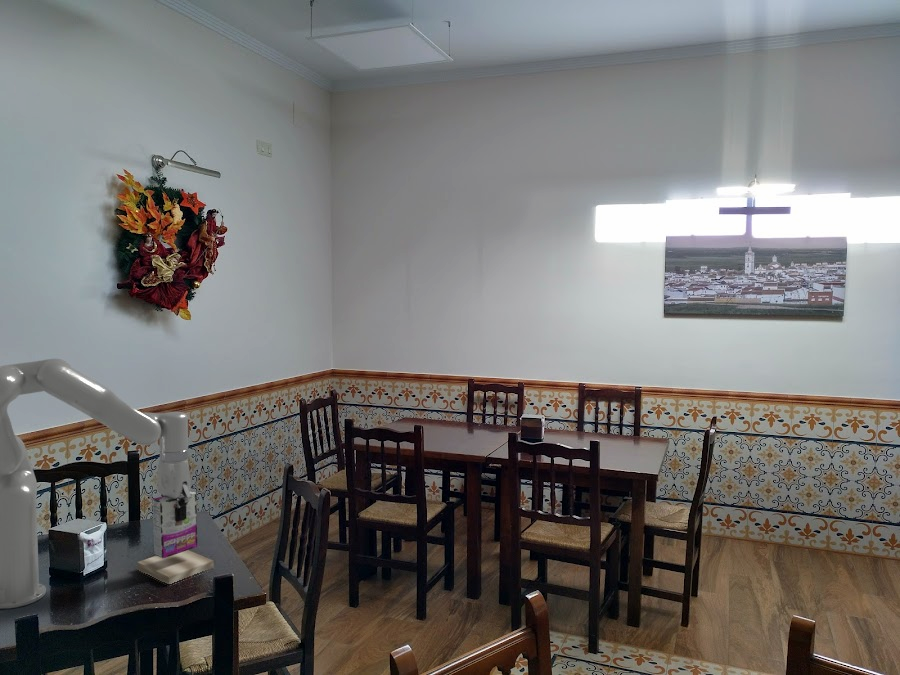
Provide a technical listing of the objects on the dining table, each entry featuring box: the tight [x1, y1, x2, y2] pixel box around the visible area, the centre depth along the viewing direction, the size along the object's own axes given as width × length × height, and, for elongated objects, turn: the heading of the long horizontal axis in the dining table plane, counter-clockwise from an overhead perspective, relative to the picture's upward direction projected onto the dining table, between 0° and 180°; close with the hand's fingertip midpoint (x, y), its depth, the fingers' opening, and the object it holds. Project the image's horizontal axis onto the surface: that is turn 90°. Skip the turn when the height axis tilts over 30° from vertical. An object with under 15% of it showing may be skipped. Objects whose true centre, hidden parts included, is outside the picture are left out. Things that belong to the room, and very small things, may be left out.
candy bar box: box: [151, 490, 198, 558], centre depth 195 cm, size 11×5×16 cm, turn 143°
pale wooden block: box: [137, 549, 215, 584], centre depth 196 cm, size 14×16×3 cm
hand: (175, 517), depth 195 cm, fingers closed on candy bar box, 5 cm apart
